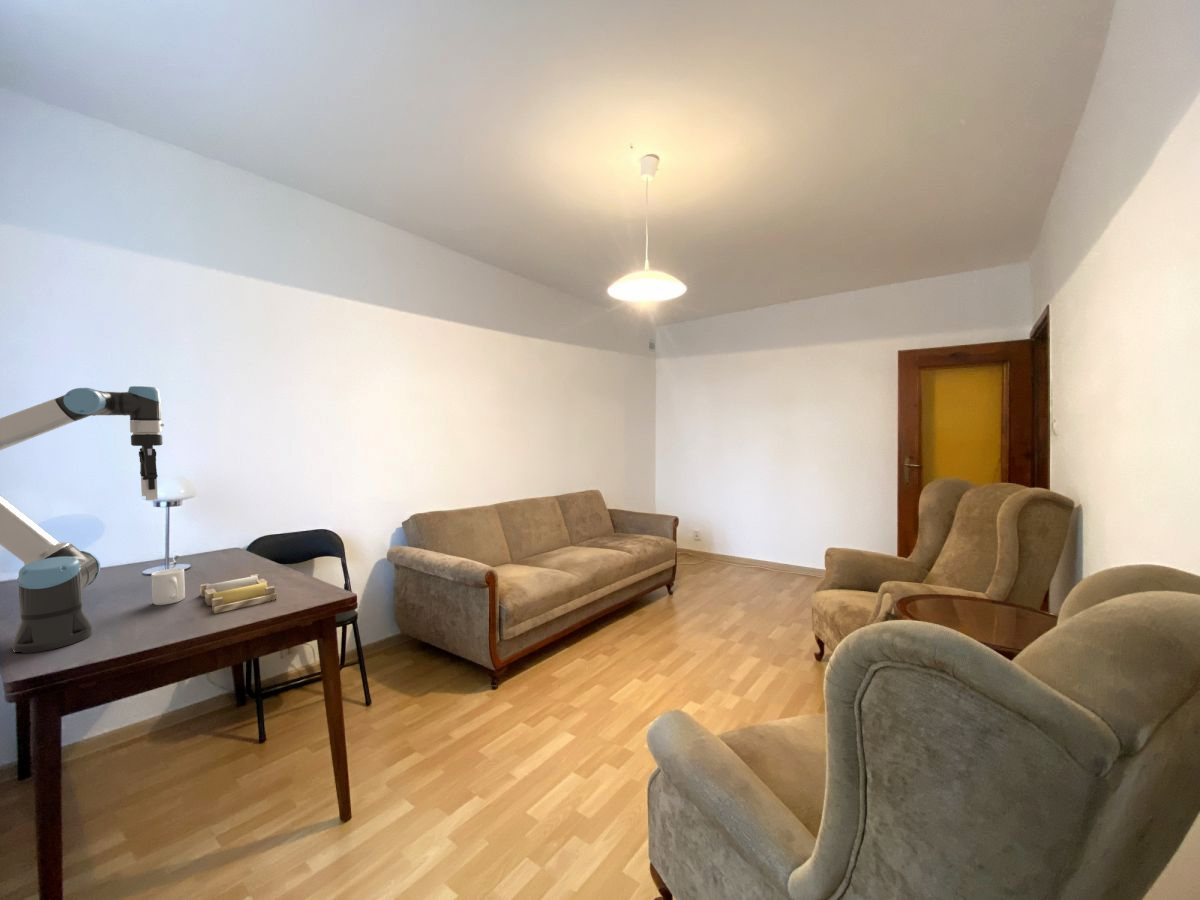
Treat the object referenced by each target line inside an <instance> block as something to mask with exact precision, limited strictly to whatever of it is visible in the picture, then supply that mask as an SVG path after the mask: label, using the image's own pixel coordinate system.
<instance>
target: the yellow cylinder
mask: <svg viewBox="0 0 1200 900" xmlns="http://www.w3.org/2000/svg"><path fill="white" fill-rule="evenodd" d="M266 587H269V584H268V585H267V583H266V582H265V583H261V584H256V585H251V586H246V587H241V588H236V589H231V590H226V591H221V592H217V593H214V596H213V598H218V597H222V598H223V605H225V604H230V603H234V602H239V601H243V600H248V599H253V598H257V597H262V596H265V588H266Z"/></svg>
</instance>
